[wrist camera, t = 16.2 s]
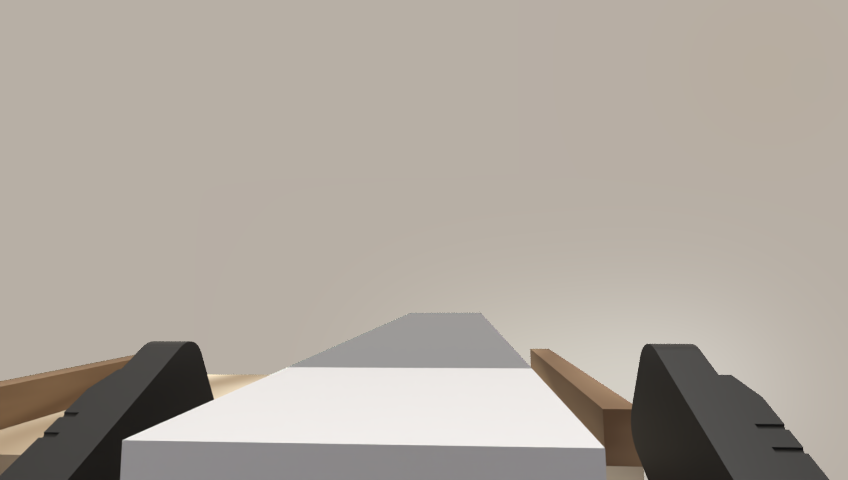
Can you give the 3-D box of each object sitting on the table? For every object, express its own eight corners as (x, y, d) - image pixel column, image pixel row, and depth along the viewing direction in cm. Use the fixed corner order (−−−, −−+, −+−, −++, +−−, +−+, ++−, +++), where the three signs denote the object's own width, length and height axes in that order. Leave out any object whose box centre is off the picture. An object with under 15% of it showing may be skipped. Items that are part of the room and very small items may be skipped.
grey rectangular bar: (481, 376, 27) (480, 312, 28) (626, 955, 4) (605, 447, 4) (410, 375, 28) (410, 313, 28) (96, 908, 4) (122, 440, 4)
